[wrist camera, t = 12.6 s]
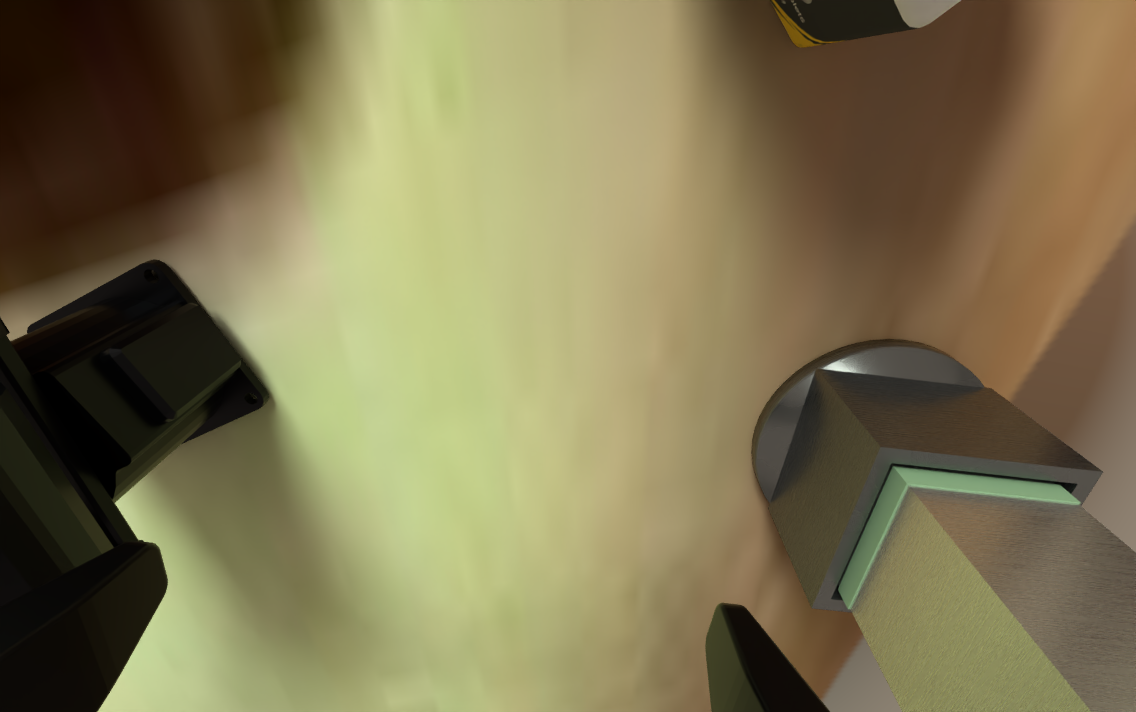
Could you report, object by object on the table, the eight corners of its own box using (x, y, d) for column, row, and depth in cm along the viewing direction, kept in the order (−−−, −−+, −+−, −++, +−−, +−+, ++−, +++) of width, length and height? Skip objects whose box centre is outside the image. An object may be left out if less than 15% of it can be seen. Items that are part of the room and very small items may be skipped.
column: (825, 565, 20) (1112, 1136, 9) (876, 445, 18) (1335, 1012, 7) (966, 580, 20) (1413, 1159, 9) (1034, 463, 18) (1725, 1045, 7)
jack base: (728, 514, 25) (767, 628, 20) (786, 326, 21) (853, 406, 16) (928, 536, 25) (1020, 655, 20) (1022, 353, 21) (1166, 442, 16)
